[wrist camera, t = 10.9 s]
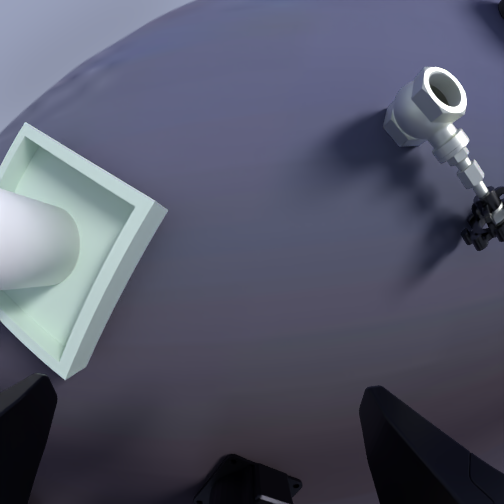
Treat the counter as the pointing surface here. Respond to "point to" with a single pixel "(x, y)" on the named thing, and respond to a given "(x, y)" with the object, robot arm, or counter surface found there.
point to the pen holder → (501, 8)
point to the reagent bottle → (35, 242)
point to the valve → (446, 143)
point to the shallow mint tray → (90, 255)
